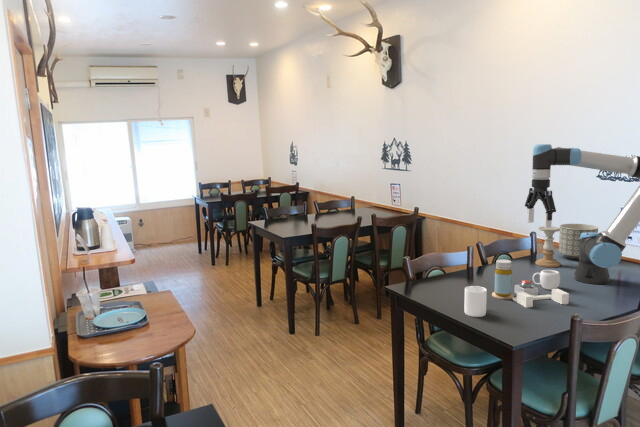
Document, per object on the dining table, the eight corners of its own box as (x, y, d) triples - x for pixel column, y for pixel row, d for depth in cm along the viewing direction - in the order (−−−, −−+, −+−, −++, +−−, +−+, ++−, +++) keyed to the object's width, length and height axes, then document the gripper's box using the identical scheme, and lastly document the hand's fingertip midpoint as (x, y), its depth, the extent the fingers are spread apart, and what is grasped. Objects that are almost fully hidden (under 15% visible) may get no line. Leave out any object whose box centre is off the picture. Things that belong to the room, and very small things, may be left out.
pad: (506, 292, 220) (507, 290, 220) (517, 298, 211) (518, 296, 211) (488, 293, 219) (488, 292, 218) (498, 300, 210) (498, 298, 210)
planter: (564, 261, 269) (566, 229, 266) (554, 253, 287) (555, 223, 285) (601, 262, 266) (604, 229, 263) (588, 254, 284) (590, 223, 282)
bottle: (512, 297, 211) (513, 263, 208) (495, 296, 212) (496, 262, 210) (510, 292, 217) (510, 259, 215) (493, 291, 219) (494, 258, 217)
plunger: (527, 289, 218) (528, 279, 218) (532, 292, 215) (533, 282, 214) (519, 290, 218) (519, 280, 217) (524, 292, 214) (524, 282, 213)
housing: (541, 290, 221) (541, 280, 221) (568, 304, 203) (568, 293, 202) (501, 293, 218) (502, 283, 218) (525, 307, 200) (526, 297, 199)
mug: (562, 287, 224) (563, 271, 223) (556, 292, 218) (557, 275, 217) (535, 283, 232) (536, 267, 231) (528, 287, 226) (529, 270, 225)
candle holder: (564, 267, 258) (566, 229, 255) (541, 267, 258) (542, 230, 255) (554, 261, 270) (555, 225, 267) (531, 262, 270) (533, 226, 267)
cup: (460, 314, 195) (461, 289, 193) (473, 306, 203) (474, 282, 202) (480, 318, 189) (481, 293, 188) (493, 310, 198) (493, 286, 196)
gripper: (518, 177, 233) (516, 220, 236) (550, 181, 209) (548, 230, 212) (532, 176, 234) (530, 220, 237) (566, 180, 210) (563, 229, 213)
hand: (539, 224), depth 225 cm, fingers open, 13 cm apart
